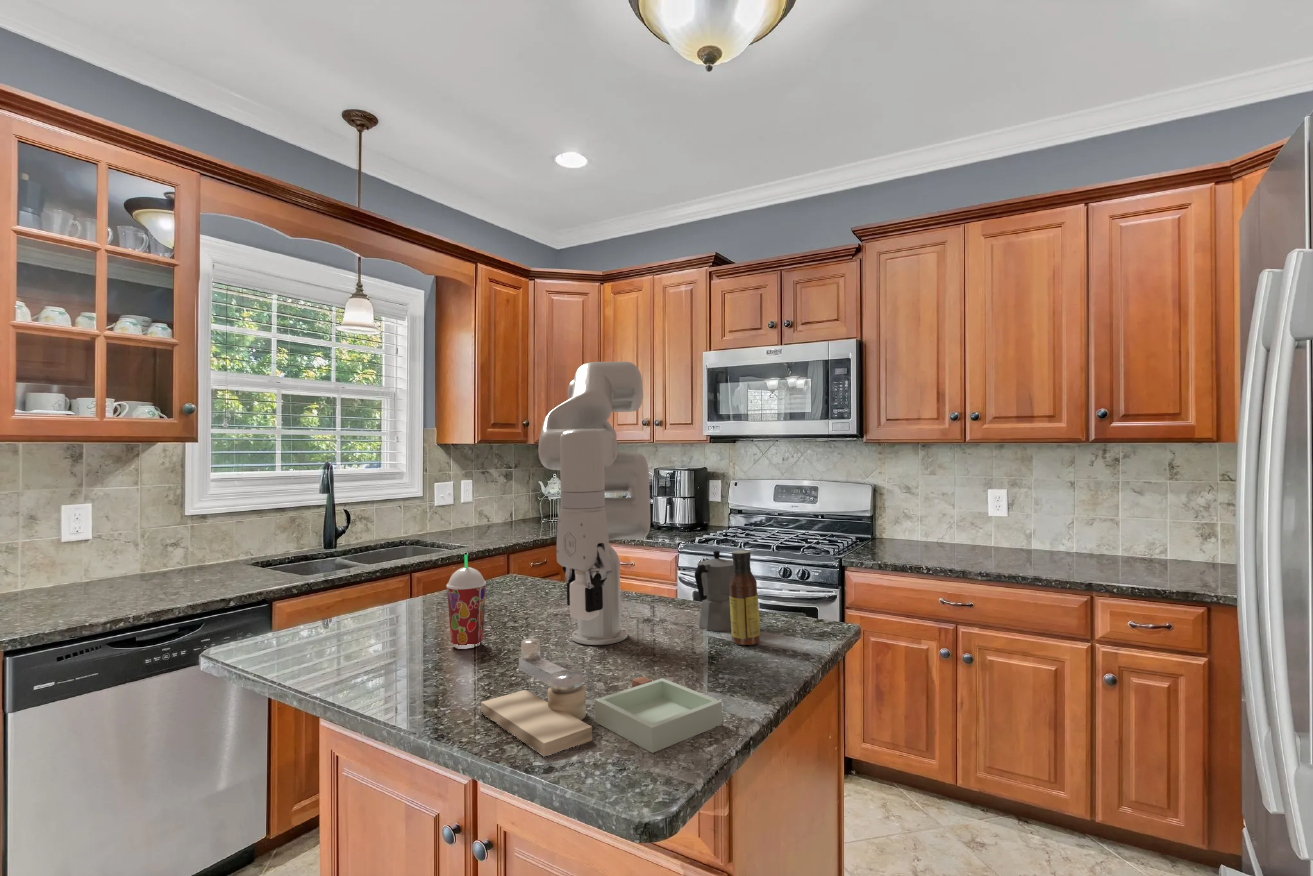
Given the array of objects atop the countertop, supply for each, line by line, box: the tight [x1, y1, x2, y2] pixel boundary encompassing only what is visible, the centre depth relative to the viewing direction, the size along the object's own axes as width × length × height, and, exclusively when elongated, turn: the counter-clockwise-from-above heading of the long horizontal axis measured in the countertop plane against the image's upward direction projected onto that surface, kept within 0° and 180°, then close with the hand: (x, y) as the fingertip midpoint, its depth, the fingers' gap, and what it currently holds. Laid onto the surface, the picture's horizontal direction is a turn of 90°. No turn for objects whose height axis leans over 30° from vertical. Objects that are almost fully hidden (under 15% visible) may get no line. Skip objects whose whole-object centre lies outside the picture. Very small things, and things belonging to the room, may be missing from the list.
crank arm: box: [518, 637, 583, 694], centre depth 108 cm, size 16×5×5 cm, turn 40°
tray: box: [594, 677, 723, 754], centre depth 101 cm, size 14×14×4 cm
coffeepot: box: [694, 550, 733, 632], centre depth 154 cm, size 15×9×18 cm, turn 142°
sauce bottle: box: [729, 549, 761, 646], centre depth 142 cm, size 7×6×20 cm
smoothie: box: [446, 554, 487, 645], centre depth 143 cm, size 8×8×20 cm
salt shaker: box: [569, 568, 599, 621], centre depth 111 cm, size 4×4×10 cm
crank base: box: [480, 676, 653, 756], centre depth 106 cm, size 20×27×4 cm
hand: (584, 606), depth 111 cm, fingers closed on salt shaker, 4 cm apart
